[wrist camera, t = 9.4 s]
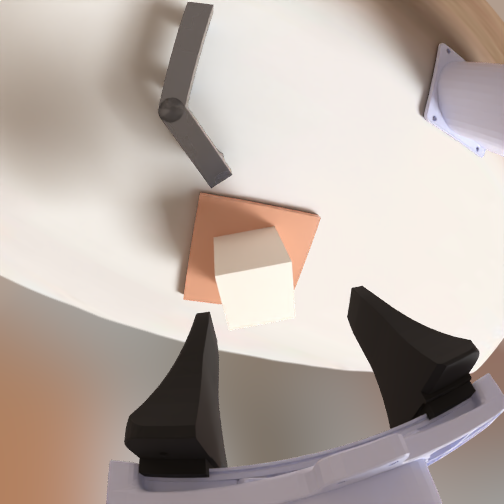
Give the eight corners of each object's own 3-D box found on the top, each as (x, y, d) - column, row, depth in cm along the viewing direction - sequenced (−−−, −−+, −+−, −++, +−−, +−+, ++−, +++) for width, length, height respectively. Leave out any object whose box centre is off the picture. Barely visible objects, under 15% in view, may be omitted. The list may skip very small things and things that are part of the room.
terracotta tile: (318, 215, 21) (320, 218, 21) (284, 306, 26) (285, 310, 25) (200, 192, 19) (199, 194, 19) (183, 294, 23) (183, 299, 23)
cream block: (274, 226, 21) (291, 261, 16) (279, 276, 23) (295, 317, 19) (213, 237, 21) (214, 276, 16) (224, 286, 23) (229, 330, 19)
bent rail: (262, 32, 14) (273, 17, 11) (225, 175, 19) (228, 191, 16) (192, 19, 13) (187, 1, 10) (158, 164, 18) (147, 178, 15)
